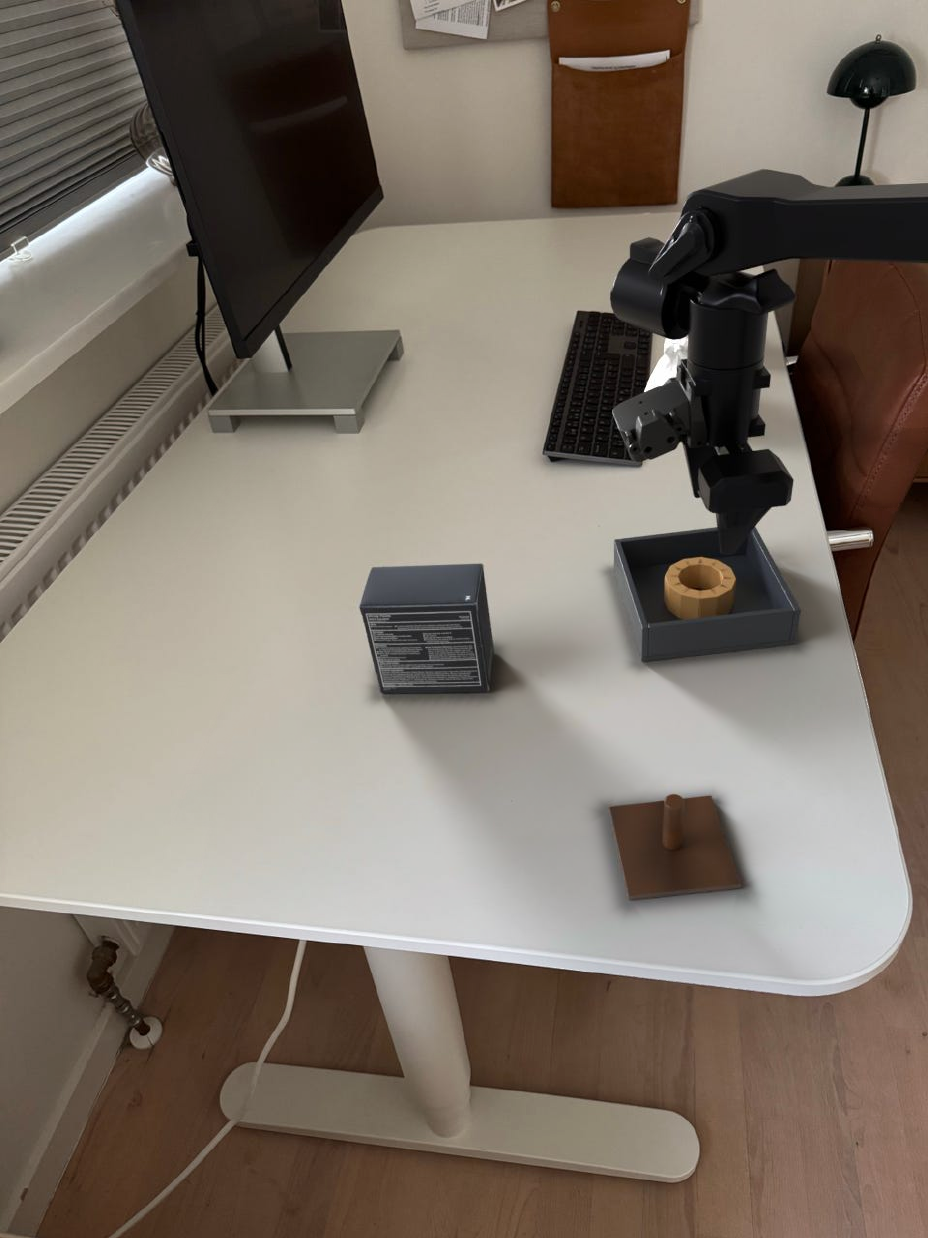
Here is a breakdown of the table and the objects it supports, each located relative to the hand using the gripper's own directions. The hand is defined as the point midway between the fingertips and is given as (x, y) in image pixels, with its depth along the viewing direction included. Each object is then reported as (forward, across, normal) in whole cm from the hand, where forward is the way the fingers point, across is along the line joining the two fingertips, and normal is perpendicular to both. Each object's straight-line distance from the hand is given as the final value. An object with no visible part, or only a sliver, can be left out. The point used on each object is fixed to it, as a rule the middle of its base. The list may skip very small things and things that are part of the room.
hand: (713, 523), depth 78 cm
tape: (+11, -3, 0) cm, 11 cm away
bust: (+11, -45, +7) cm, 47 cm away
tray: (+11, -3, 0) cm, 12 cm away
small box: (+12, +2, -26) cm, 29 cm away
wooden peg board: (+12, +25, -9) cm, 29 cm away
